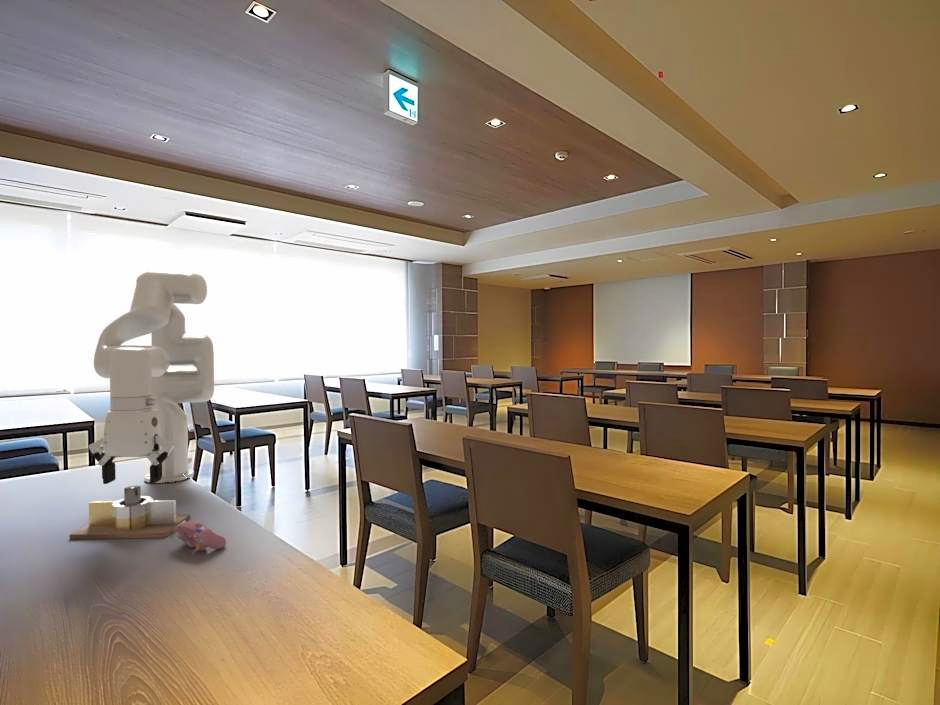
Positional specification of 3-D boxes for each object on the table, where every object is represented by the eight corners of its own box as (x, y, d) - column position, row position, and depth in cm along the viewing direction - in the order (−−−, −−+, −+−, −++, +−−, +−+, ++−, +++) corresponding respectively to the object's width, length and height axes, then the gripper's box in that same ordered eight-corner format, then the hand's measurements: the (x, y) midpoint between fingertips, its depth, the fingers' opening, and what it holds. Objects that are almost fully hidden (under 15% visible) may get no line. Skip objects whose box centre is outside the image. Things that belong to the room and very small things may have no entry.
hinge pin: (129, 521, 112) (129, 485, 112) (143, 521, 113) (143, 485, 112) (121, 526, 109) (121, 489, 109) (135, 526, 110) (135, 489, 109)
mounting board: (104, 519, 116) (104, 515, 116) (190, 518, 117) (190, 514, 117) (69, 539, 105) (69, 534, 105) (165, 537, 106) (165, 532, 106)
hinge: (101, 518, 114) (101, 496, 114) (183, 517, 115) (182, 495, 115) (79, 531, 107) (78, 507, 107) (166, 529, 108) (166, 506, 108)
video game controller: (179, 551, 103) (164, 526, 100) (198, 534, 107) (183, 510, 104) (211, 562, 99) (196, 536, 96) (230, 544, 102) (215, 518, 99)
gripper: (181, 401, 114) (182, 476, 115) (101, 401, 113) (102, 477, 114) (163, 406, 107) (164, 486, 108) (77, 406, 106) (79, 487, 106)
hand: (132, 481), depth 111 cm, fingers open, 9 cm apart
